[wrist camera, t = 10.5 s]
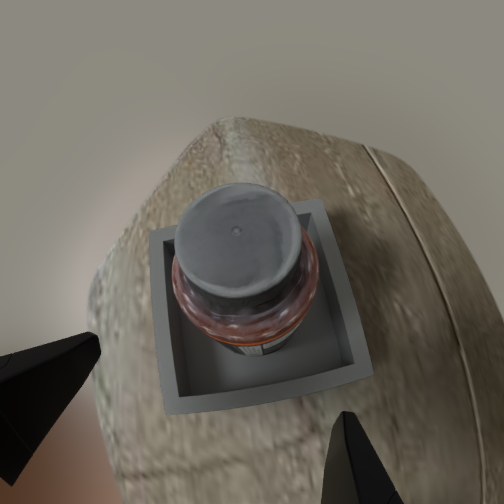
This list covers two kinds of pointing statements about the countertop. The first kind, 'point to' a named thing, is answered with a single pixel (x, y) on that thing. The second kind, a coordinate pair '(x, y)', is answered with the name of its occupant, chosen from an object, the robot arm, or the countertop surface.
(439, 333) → the countertop surface
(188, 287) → the supplement bottle
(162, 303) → the tray
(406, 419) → the countertop surface
